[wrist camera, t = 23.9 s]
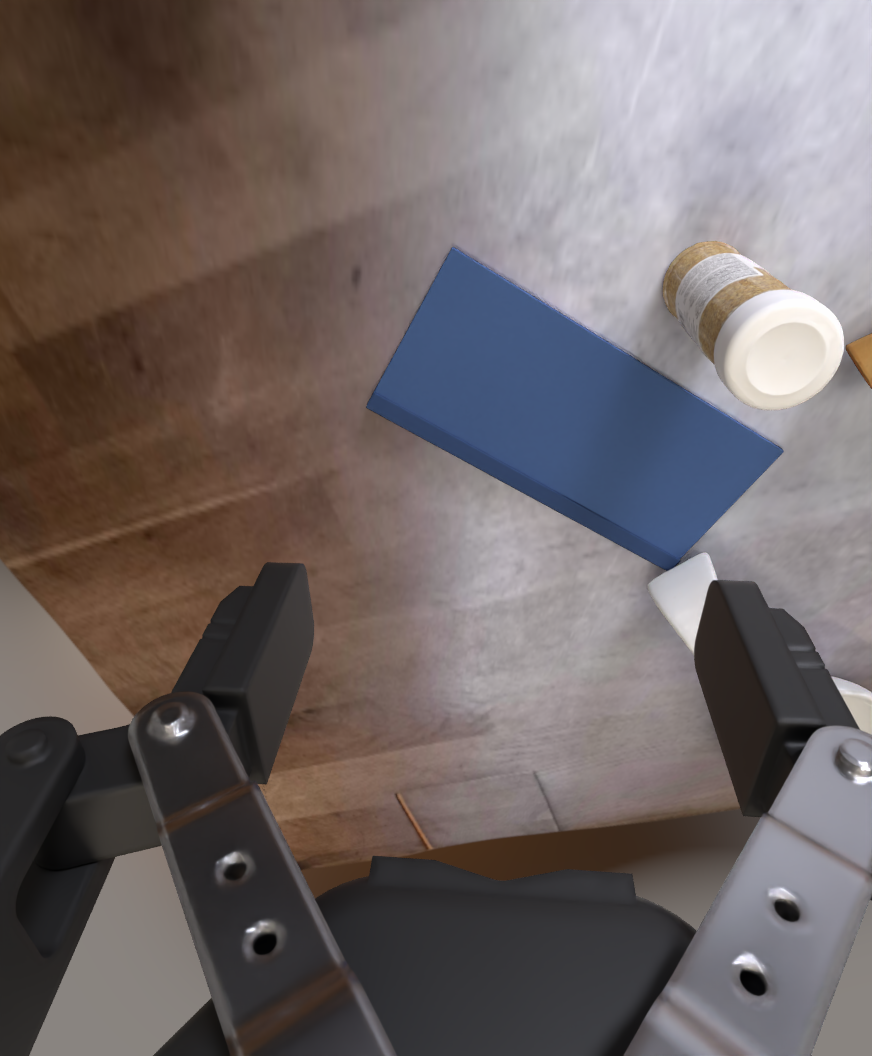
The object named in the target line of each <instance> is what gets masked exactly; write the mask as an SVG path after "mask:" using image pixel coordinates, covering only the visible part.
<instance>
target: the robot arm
mask: <svg viewBox="0 0 872 1056" xmlns="http://www.w3.org/2000/svg"><path fill="white" fill-rule="evenodd" d="M313 639H314V620H313V613H312V606H311V599H310V592H309V585H308V578H307V572H306V568H305V566H304V564H300V563H273V562H267V563H265V565H264V566H263V568H262V570H261V572H260V574H259V576H258V578H257V580H256V582H255V584H254V586H239V587H237V588H236V589H235V590H234V591H233V592H231V593H230V594H229V595H228V596H227V597H226V598H224V599H223V600H222V601H221V602H220V604H219V605H218V607H217V609H216V611H215V613H214V615H213V617H212V618H211V623H210V624H208V626H207V628H206V629H205V631H204V633H203V637H202V639H200V640H199V642H198V644H197V646H196V648H195V650H194V652H193V653H192V655H191V657H190V659H189V661H188V663H187V664H186V666H185V668H184V670H183V672H182V674H181V675H180V677H179V679H178V681H177V683H176V685H175V686H174V688H173V690H172V692H171V693H170V694H167V695H164V696H161V697H159V698H157V699H155V700H153V701H151V702H150V703H148V704H147V705H145V706H144V707H143V708H142V709H141V710H140V711H139V712H138V713H137V714H136V715H135V716H134V718H133V719H132V721H131V723H130V724H129V725H126V726H122V727H118V728H114V729H109V730H103V731H98V732H94V733H89V734H84V735H79V736H78V735H77V733H76V730H75V728H74V727H73V725H72V724H71V723H70V722H69V721H67V720H65V719H63V718H59V717H41V718H35V719H31V720H28V721H25V722H23V723H20V724H18V725H16V726H14V727H12V728H10V729H9V730H7V731H6V732H4V733H3V734H2V735H1V736H0V1056H29V1054H30V1052H31V1050H32V1047H33V1045H34V1043H35V1041H36V1038H37V1036H38V1034H39V1031H40V1029H41V1027H42V1024H43V1022H44V1020H45V1018H46V1015H47V1013H48V1011H49V1008H50V1006H51V1004H52V1002H53V999H54V997H55V995H56V992H57V990H58V988H59V985H60V983H61V981H62V978H63V976H64V974H65V972H66V969H67V967H68V965H69V962H70V960H71V958H72V956H73V953H74V951H75V949H76V946H77V944H78V942H79V940H80V937H81V935H82V933H83V930H84V928H85V926H86V923H87V921H88V919H89V916H90V914H91V912H92V910H93V907H94V905H95V903H96V900H97V898H98V896H99V894H100V891H101V889H102V887H103V884H104V882H105V880H106V877H107V875H108V873H109V871H110V868H111V866H112V864H113V861H114V859H115V857H116V856H120V855H125V854H128V853H133V852H137V851H141V850H145V849H150V848H154V847H158V846H162V847H163V850H164V853H165V856H166V859H167V862H168V866H169V868H170V871H171V875H172V878H173V881H174V884H175V887H176V890H177V893H178V896H179V899H180V902H181V905H182V908H183V911H184V914H185V917H186V920H187V923H188V927H189V930H190V933H191V935H192V939H193V942H194V945H195V948H196V950H197V954H198V957H199V960H200V963H201V966H202V969H203V972H204V975H205V978H206V981H207V984H208V987H209V990H210V994H211V997H212V998H211V999H210V1000H209V1001H208V1002H207V1003H206V1004H205V1005H204V1006H203V1007H202V1008H201V1009H200V1010H199V1011H198V1012H197V1013H196V1014H195V1015H194V1016H193V1017H192V1018H191V1019H190V1020H189V1021H188V1022H187V1023H186V1024H185V1025H184V1026H183V1027H181V1028H180V1029H179V1030H178V1031H177V1033H175V1035H173V1037H171V1038H170V1039H169V1040H168V1042H166V1043H165V1044H164V1045H163V1046H162V1047H161V1048H160V1049H159V1050H158V1051H157V1052H156V1053H155V1054H154V1055H153V1056H811V1054H812V1051H813V1049H814V1046H815V1044H816V1041H817V1038H818V1036H819V1033H820V1030H821V1027H822V1025H823V1022H824V1019H825V1017H826V1014H827V1012H828V1009H829V1006H830V1004H831V1001H832V998H833V996H834V993H835V991H836V988H837V985H838V983H839V980H840V977H841V974H842V972H843V969H844V967H845V964H846V961H847V959H848V956H849V953H850V951H851V948H852V946H853V943H854V940H855V938H856V935H857V932H858V930H859V927H860V924H861V922H862V919H863V916H864V914H865V911H866V908H867V906H868V903H869V901H870V900H872V735H871V734H869V733H867V732H864V731H862V730H860V728H859V727H858V725H857V723H856V721H855V719H854V717H853V716H852V714H851V712H850V710H849V708H848V707H847V705H846V703H845V701H844V699H843V697H842V696H841V694H840V692H839V690H838V688H837V686H836V685H835V683H834V681H833V679H832V677H831V675H830V674H829V672H828V670H827V669H825V664H824V663H823V661H822V659H821V657H820V655H819V653H818V652H816V651H815V646H814V644H813V642H812V641H811V639H810V637H809V635H808V633H807V631H806V630H805V628H804V627H803V626H802V625H801V624H800V623H799V622H798V621H796V620H795V619H794V618H793V617H792V616H791V615H789V614H788V613H787V612H786V611H785V610H784V609H775V608H769V607H768V605H767V603H766V601H765V599H764V597H763V595H762V593H761V591H760V589H759V587H758V586H757V584H756V583H755V582H752V581H726V580H713V581H712V582H711V583H710V585H709V587H708V591H707V595H706V599H705V603H704V607H703V611H702V615H701V619H700V623H699V627H698V631H697V635H696V639H695V645H694V661H695V668H696V672H697V675H698V678H699V681H700V684H701V688H702V691H703V694H704V697H705V700H706V703H707V706H708V709H709V712H710V715H711V718H712V722H713V725H714V728H715V731H716V734H717V737H718V740H719V743H720V746H721V749H722V752H723V756H724V759H725V762H726V765H727V768H728V771H729V774H730V777H731V780H732V783H733V786H734V790H735V793H736V796H737V799H738V802H739V805H740V808H741V811H742V814H743V816H751V817H761V819H760V820H759V822H758V824H757V825H756V827H755V829H754V831H753V832H752V834H751V836H750V838H749V840H748V841H747V843H746V845H745V847H744V848H743V850H742V852H741V854H740V856H739V857H738V859H737V861H736V863H735V864H734V866H733V868H732V870H731V871H730V873H729V875H728V877H727V879H726V880H725V882H724V884H723V886H722V887H721V889H720V891H719V893H718V894H717V896H716V898H715V900H714V902H713V904H712V905H711V907H710V909H709V911H708V912H707V914H706V916H705V918H704V919H703V921H702V923H701V925H700V926H699V928H698V930H697V931H696V930H695V929H694V928H693V927H692V926H690V925H689V924H688V923H686V922H685V921H684V920H682V919H681V918H680V917H678V916H677V915H675V914H674V913H672V912H670V911H668V910H666V909H665V908H663V907H662V906H660V905H657V904H655V903H653V902H651V901H649V900H646V899H644V898H641V897H638V896H636V894H635V888H634V882H633V876H632V874H626V873H612V872H597V871H582V870H569V869H567V870H561V871H556V872H551V873H545V874H540V875H534V876H529V877H524V878H518V879H513V880H508V881H498V880H493V879H490V878H487V877H484V876H481V875H478V874H475V873H472V872H469V871H466V870H463V869H460V868H457V867H454V866H451V865H448V864H445V863H442V862H439V861H436V860H425V859H411V858H397V857H382V856H373V857H372V863H371V869H370V875H369V876H368V877H363V878H358V879H355V880H352V881H349V882H346V883H343V884H341V885H339V886H337V887H335V888H332V889H330V890H328V891H327V892H325V893H323V894H322V895H320V896H319V897H317V898H316V899H315V898H314V897H313V894H312V892H311V890H310V888H309V887H308V884H307V882H306V880H305V878H304V876H303V874H302V872H301V870H300V868H299V866H298V864H297V862H296V860H295V858H294V856H293V854H292V852H291V850H290V848H289V846H288V844H287V842H286V840H285V838H284V836H283V834H282V832H281V830H280V828H279V826H278V824H277V822H276V820H275V818H274V816H273V814H272V812H271V810H270V808H269V806H268V804H267V802H266V800H265V798H264V796H263V794H262V792H261V790H260V788H259V786H258V784H267V781H268V778H269V775H270V773H271V770H272V767H273V764H274V761H275V758H276V755H277V752H278V749H279V746H280V743H281V740H282V737H283V734H284V731H285V728H286V725H287V722H288V719H289V716H290V713H291V710H292V707H293V704H294V701H295V698H296V695H297V692H298V690H299V687H300V684H301V681H302V678H303V675H304V672H305V669H306V666H307V663H308V660H309V657H310V654H311V651H312V646H313Z"/></svg>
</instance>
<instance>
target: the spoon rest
mask: <svg viewBox="0 0 872 1056" xmlns="http://www.w3.org/2000/svg"><path fill="white" fill-rule="evenodd" d="M713 580H718V579H717V576H716V573H715V570H714V567H713V564H712V561H711V559H710V556H709V555H708V554H707V553H705V552H704V553H700V554H698V555H696V556H694V557H692V558H690V559H689V560H687V561H685V562H683V563H682V564H680V565H678V566H676V567H674V568H672V569H670V570H669V571H667V572H665V573H663V574H662V575H660V576H658V577H657V578H655V579H654V580H652V581H651V582H650V583H649V584H648V585H647V589H648V591H649V593H650V595H651V597H652V598H653V600H654V602H655V604H656V605H657V607H658V609H659V610H660V611H661V613H662V614H663V615H664V617H665V618H666V619H667V621H668V622H669V623H670V624H671V626H672V627H673V628H674V630H675V631H676V632H677V634H678V635H679V636H680V638H681V639H682V640H683V642H684V643H685V644H686V646H687V647H688V648H689V650H690V651H691V652H692V654H693V655H694V645H695V639H696V635H697V631H698V627H699V623H700V619H701V615H702V611H703V607H704V603H705V599H706V595H707V591H708V587H709V585H710V583H711V582H712V581H713ZM831 677H832V679H833V681H834V683H835V685H836V686H837V688H838V690H839V692H840V694H841V696H842V697H843V699H844V701H845V703H846V705H847V707H848V708H849V710H850V712H851V714H852V716H853V717H854V719H855V721H856V723H857V725H858V727H859V728H860V730H862V731H864V732H867V733H869V734H871V735H872V692H870V691H869V690H867V689H865V688H863V687H861V686H859V685H857V684H854V683H852V682H849V681H846V680H843V679H840V678H837V677H833V676H831Z"/></svg>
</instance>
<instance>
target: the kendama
mask: <svg viewBox="0 0 872 1056" xmlns="http://www.w3.org/2000/svg"><path fill="white" fill-rule="evenodd" d="M846 351H847V352H848V354H849V356H850V357H851V359H852V361H853V362H854V364H855V366H856V367H857V369H858V370H859V372H860V373H861V375H862V376H863V378H864V379H865V381H866V382H867V383H868V385H869V386H870V388H871V389H872V333H871V334H869V335H867V336H865V337H863V338H860V339H859V340H856V341H854V342H852V343H850V344H848V345H846Z"/></svg>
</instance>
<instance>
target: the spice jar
mask: <svg viewBox="0 0 872 1056" xmlns="http://www.w3.org/2000/svg"><path fill="white" fill-rule="evenodd" d="M663 297H664V300H665V304H666V306H667V307H668V310H669V311H670V313H671V314H672V315H673V316H675V317H676V318H677V319H678V320H679V322H680V323H681V325H682V326H683V328H684V329H685V330H686V332H687V333H688V334H689V335H690V337H691V338H692V339H693V340H694V342H695V343H696V344H697V346H698V347H699V348H700V349H701V351H702V352H703V353H704V354H705V356H706V357H707V358H708V359H709V360H710V361H711V362H712V363H713V364H714V365H715V369H716V371H717V374H718V376H719V378H720V379H721V381H722V382H723V383H724V385H725V386H726V387H727V388H728V390H729V391H730V392H731V393H732V394H733V395H734V396H735V397H736V398H737V399H738V400H740V401H741V402H743V403H744V404H746V405H748V406H751V407H753V408H757V409H761V410H782V409H787V408H790V407H793V406H796V405H799V404H801V403H803V402H805V401H807V400H808V399H810V398H812V397H813V396H815V395H816V394H817V393H819V392H820V391H821V390H822V389H823V388H824V387H825V386H826V385H827V384H828V383H829V381H830V380H831V379H832V377H833V376H834V374H835V373H836V371H837V369H838V367H839V365H840V362H841V359H842V356H843V351H844V336H843V330H842V327H841V325H840V323H839V321H838V319H837V318H836V316H835V315H834V314H833V313H832V312H831V311H830V310H829V309H828V308H827V307H825V306H824V305H823V304H821V303H820V302H818V301H817V300H815V299H814V298H812V297H810V296H809V295H807V294H804V293H802V292H799V291H795V290H791V289H790V288H788V287H787V286H786V285H784V284H783V283H782V282H781V281H779V280H777V279H776V278H774V277H773V276H772V275H771V274H770V273H769V272H768V271H766V270H765V269H763V268H762V267H760V266H759V265H757V264H756V263H754V262H753V261H751V260H750V259H748V258H746V257H744V256H742V255H740V253H739V252H738V251H737V250H736V249H735V248H734V247H732V246H730V245H727V244H725V243H722V242H717V241H710V242H708V241H707V242H701V243H697V244H695V245H693V246H691V247H689V248H687V249H686V250H684V251H683V252H682V253H680V254H679V255H678V256H677V257H676V258H675V259H674V261H673V262H672V263H671V264H670V266H669V268H668V270H667V272H666V275H665V278H664V282H663Z"/></svg>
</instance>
